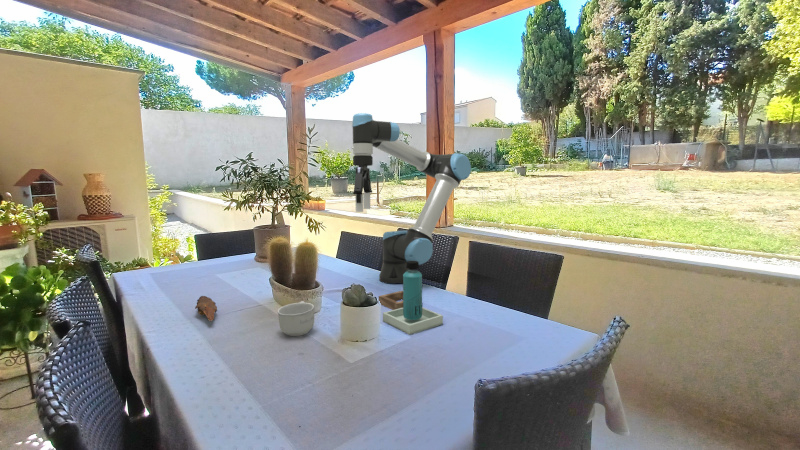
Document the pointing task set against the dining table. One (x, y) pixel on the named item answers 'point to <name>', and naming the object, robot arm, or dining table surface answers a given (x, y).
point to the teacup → (296, 318)
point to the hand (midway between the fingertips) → (363, 210)
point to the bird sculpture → (206, 307)
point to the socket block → (392, 300)
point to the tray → (412, 321)
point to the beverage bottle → (412, 292)
